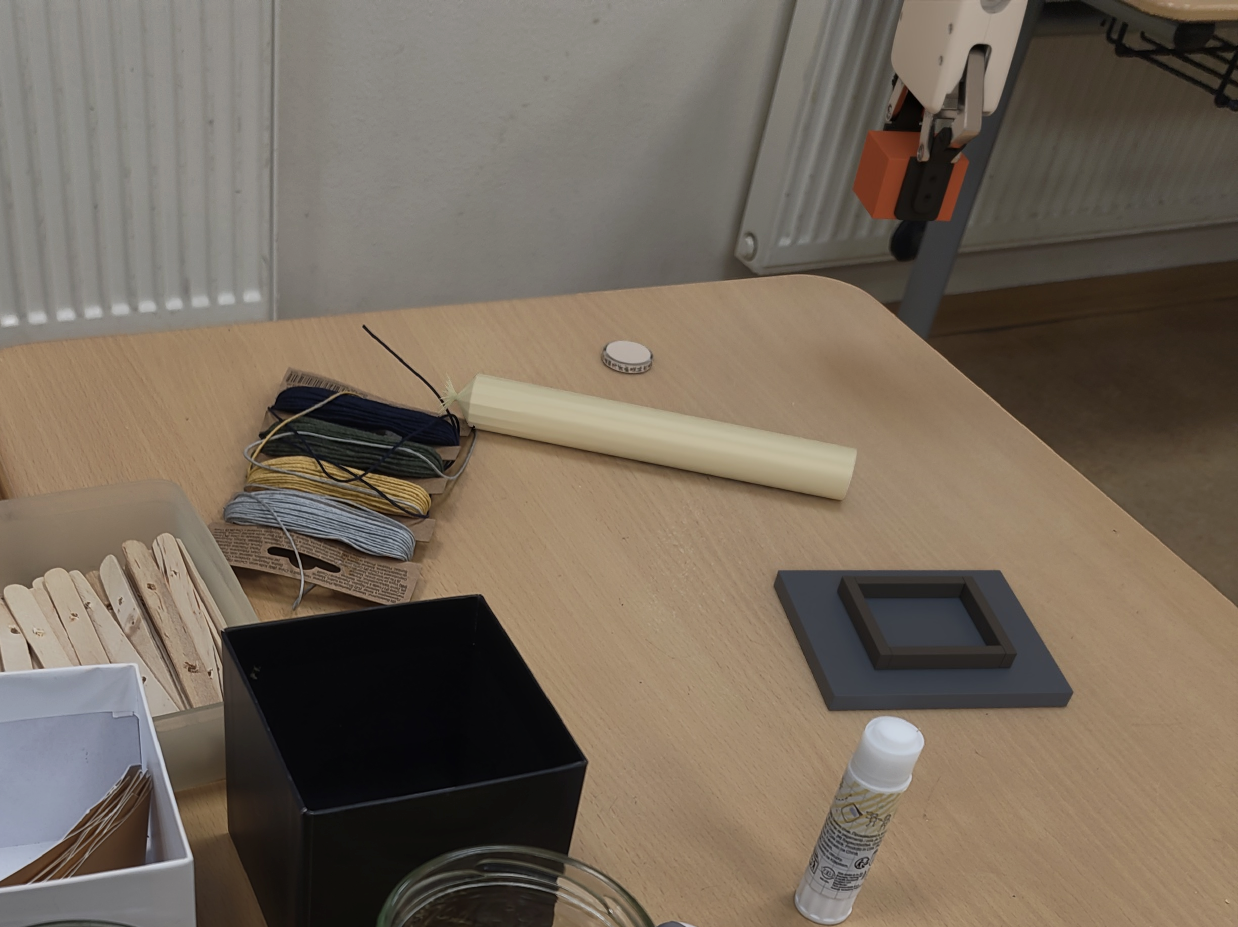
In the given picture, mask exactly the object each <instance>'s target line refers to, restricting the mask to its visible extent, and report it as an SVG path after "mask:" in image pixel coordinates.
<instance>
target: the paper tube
mask: <svg viewBox="0 0 1238 927" xmlns="http://www.w3.org/2000/svg"><path fill="white" fill-rule="evenodd" d="M445 371H446V372H445V375H446V377H444V378H445V381H446V384H447V385H446V384H445V383H444V382H442V384H443V385H444V387H445V389H446V390H441V389H440V390H439V391H441V392H442V393H444V394H445V395H447V396H442V397H441V398H440V400H444V402H442V403H441V404H440V405H439V406H438V408H440V407H441V406H442V407H441V409H440V410H439V411H438V413H440V414H439V415H441V416H442V414H444V412H445V411H446V410H448V408H449V407H450V406H451V405H452V404H453V403H454V402H455V401H456V402H457V404H458V405H459V408H460V410H461V412H462V415H463V417H464V419H465V422H466V424H467V423H471V424H473V425H474V426H475V427H476V428H474V429H476V430H481V431H486V432H490V433H491V432H492V433H496V434H501V435H505V436H513V437H517V438H522V439H527V440H532V441H537V442H542V443H548V444H553V445H557V446H563V447H567V448H574V449H578V450H583V451H589V452H594V453H599V454H603V455H608V456H612V457H618V458H624V459H629V460H633V461H639V462H643V463H644V462H645V463H649V464H654V465H659V466H665V467H668V468H674V469H680V470H684V471H690V472H694V473H701V474H705V475H709V476H715V477H720V478H725V479H730V480H735V481H741V482H745V483H751V484H756V485H760V486H766V487H770V488H775V489H781V490H786V491H790V492H791V491H792V492H795V493H801V494H806V495H811V496H817V497H822V498H826V499H832V500H838V501H843V500H844V499H845V498H846V496H847V494H848V490H849V487H850V484H851V481H852V477H853V474H854V469H855V466H856V465H855V464H856V461H857V456H858V455H857V454H858V450H857V449H858V448H856V447H851V446H845V445H841V444H836V443H830V442H826V441H821V440H815V439H811V438H806V437H800V436H795V435H790V434H786V433H781V432H777V431H776V432H775V431H770V430H765V429H760V428H755V427H751V426H746V425H741V424H735V423H730V422H726V421H722V420H721V421H720V420H716V419H710V418H704V417H700V416H696V415H695V416H694V415H690V414H686V413H680V412H675V411H670V410H665V409H659V408H656V407H649V406H644V405H640V404H635V403H630V402H625V401H620V400H614V399H610V398H605V397H599V396H594V395H591V394H584V393H580V392H575V391H570V390H564V389H559V388H555V387H549V386H545V385H540V384H536V383H530V382H525V381H521V380H514V379H510V378H505V377H500V376H496V375H491V374H486V373H482V372H478V373H477V374H476V375H474V377H473V378H472V379H471V380H470V381H469V382H468V383H467V384H466V385H465V386H464V387H463V388H462V389H461V391H459V392H458V393H457V392H456V390H455V388H454V385H453V383H452V381H451V378H450V376H449V374H448V371H447V370H445Z"/></svg>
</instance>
